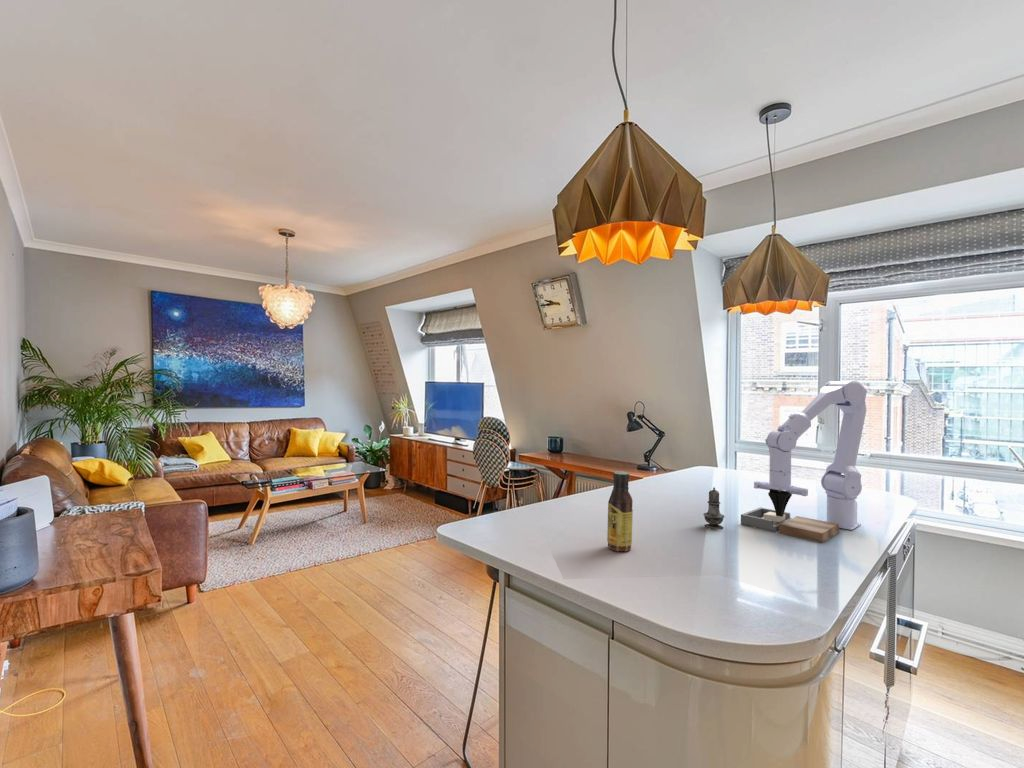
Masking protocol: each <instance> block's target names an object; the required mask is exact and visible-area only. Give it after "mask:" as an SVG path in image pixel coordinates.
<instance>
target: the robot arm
mask: <svg viewBox="0 0 1024 768" xmlns="http://www.w3.org/2000/svg"><path fill="white" fill-rule="evenodd" d="M867 393H868V390H867V388H866V387H864V385H863V384H862V383H861V382H860V381H858V380H850V381H849V380H847V381H846V380H845V381H842V380H840V381H836V380H830V381H828V382H826V383H825V385H823V386H822V387H821V388H820V390H819V393H818V394H817V395H816V396H815V397H814V398H813V399H812V400H811V401H810V403H809V404H808V405H806V407H804V409H803V410H802V411H801V412H795V413H793V414H790V415H789V416H788V419H787V420H786V421H785V422H784V423H782V424H781V425H779V426H778V427H777V430H775V429H774V430H772V431H770V432H768V434H767V436H766V438H764V441H765V444H766V445H767V447H768V452H769V477H768V478H769V482H767V481H754V482H753V488H754V489H760V490H767V491H769V492H767V494H768V496H769V497H768V498H770V500H771V502H772V504H773V507H774V510H775V512H776V516H781V517H782V516H784V512H785V510H786V507H787V505H788V503H789V501H790V499H791V497H792V496H793V495H797V496H802V497H807V496H809V495H808V494H809V489H808V488H804V487H799V486H796V485H795V486H794V485H792V450H794V449H795V448H796V446H797V441H798V440H799V438H800V437H801V436H802V435H803V434H804V433H805V432H806V431H808V430H809V428H811V426H812V421H813V420H814V419H815V418H816V417H817V416H818V415H820V414H821V413H822V412H824V411H825V410H826V409H827V408H828V407H829V406H831V405H835V406H837V407H838V409H840V410H841V411H842V413H843V415H842V420H841V425H840V430H839V434H838V440H837V444H836V450H835V453H834V454H835V455H834V459H833V462H832V463H831V464H829V465H828V466H827V467H826V470H825V471H824V474H823V475H822V477H821V479H820V482H821V483H820V485H821V487H822V489H823V490H824V491H825V494H826V520H825V521H826V522H831V523H836V524H839V529H844V530H849V531H853V530H855V529H857V528H858V527H859V526H861V525H862V523H861V522H858V502H857V500H856V499H858V496H859V495H860V494H861V492H862V488H863V485H862V473H861V472H860V471H859V470H858V468H856V464H857V459H858V456H859V455H858V454H859V449H860V444H861V439H862V434H863V429H864V425H865V420H866V414H867V404H866V398H867Z"/></svg>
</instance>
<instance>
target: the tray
mask: <svg viewBox="0 0 1024 768" xmlns="http://www.w3.org/2000/svg"><path fill="white" fill-rule="evenodd" d="M768 512H774V513H776V512H775V509H771V508H770V509H769V508H765V507H757V508H755V509H752V510H750V511H747V512H745V513H742V514H740V525H741V526H745V525H746V527H751V528H754V527H755V529H759V530H763V529H764V530H763V531H768V530H769V532H772V531H774V532H773V533H777V532H779V524H781V523H783V522H785V521H788V520H790V519H792V517H791V513H790V512H785V511H784V514H785V520H783V521H782V522H780V523H778V524H776V525H774V526H773V520H768V519H763V518H762V517H764V514H765V513H768ZM776 531H777V532H776Z"/></svg>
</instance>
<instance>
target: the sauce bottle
mask: <svg viewBox="0 0 1024 768" xmlns="http://www.w3.org/2000/svg"><path fill="white" fill-rule="evenodd" d="M612 477H613V478H612V479H613V488H612V491H611V493H610V497H609V499H608V503H607V506H608V507H607V535H606V536H607V538H606V539H607V548H608V549H609V550H612V551H613V550H614V551H613V552H619V551H621V553H623V552H622V551H625V552H629V551H631V549H632V544H633V515H634V514H633V513H634V512H633V511H634V510H633V501H634V500H633V497H632V495H631V494H630V491H629V488H630V487H629V480H630V472H628V471H623V470H619V471H613V473H612ZM628 550H629V551H628Z"/></svg>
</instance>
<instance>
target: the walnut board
mask: <svg viewBox="0 0 1024 768" xmlns="http://www.w3.org/2000/svg"><path fill="white" fill-rule="evenodd" d="M791 518H792V517H791ZM839 532H840V528H839V524H836V523H831V522H826V520H819V519H814V518H809V517H805V516H799V515H797V516H794V517H793V518H792V519H790V520H788V521H785V522H783V523H781V524H779V531H778V534H781V533H782V534H781V535H787V536H792V537H795V538H799V539H800V538H801V539H806V540H809V541H813V542H817V541H818V543H824V542H826V541H827V540H829V539H831V538H832V537H834V536H836V535H838V534H839ZM835 534H836V535H835ZM830 537H831V538H830Z"/></svg>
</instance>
